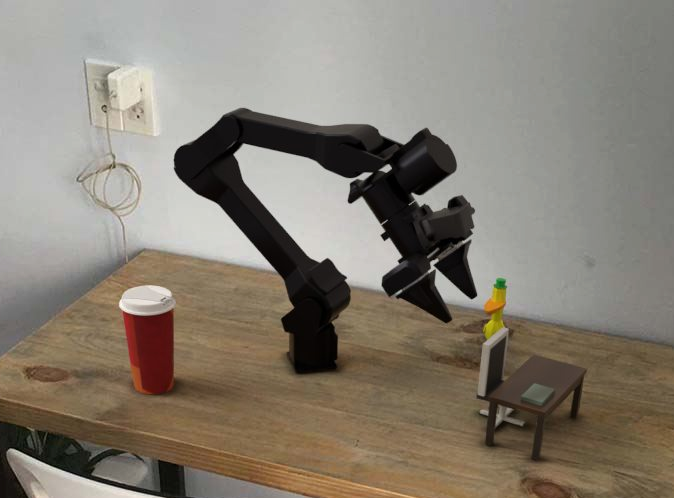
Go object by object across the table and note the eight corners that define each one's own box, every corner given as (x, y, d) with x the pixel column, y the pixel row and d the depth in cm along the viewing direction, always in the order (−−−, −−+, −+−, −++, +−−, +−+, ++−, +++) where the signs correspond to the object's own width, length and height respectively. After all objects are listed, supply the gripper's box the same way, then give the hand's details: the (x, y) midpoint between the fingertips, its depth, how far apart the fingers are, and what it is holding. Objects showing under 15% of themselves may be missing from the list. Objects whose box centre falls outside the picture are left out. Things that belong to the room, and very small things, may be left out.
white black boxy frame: (467, 424, 155) (475, 343, 149) (489, 403, 161) (497, 324, 154) (514, 438, 153) (525, 356, 146) (535, 417, 158) (546, 337, 151)
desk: (483, 445, 151) (488, 391, 146) (527, 400, 162) (534, 349, 157) (537, 462, 148) (545, 408, 143) (579, 415, 159) (587, 364, 154)
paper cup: (191, 380, 163) (186, 290, 155) (161, 402, 157) (154, 310, 149) (146, 368, 166) (138, 279, 158) (115, 390, 160) (105, 298, 152)
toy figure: (492, 364, 171) (500, 291, 164) (470, 358, 173) (478, 285, 166) (509, 348, 176) (518, 276, 169) (488, 342, 177) (496, 271, 171)
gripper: (413, 201, 138) (482, 306, 141) (469, 162, 153) (530, 259, 156) (351, 245, 145) (418, 345, 148) (410, 204, 160) (470, 296, 162)
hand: (462, 309), depth 153 cm, fingers open, 9 cm apart
